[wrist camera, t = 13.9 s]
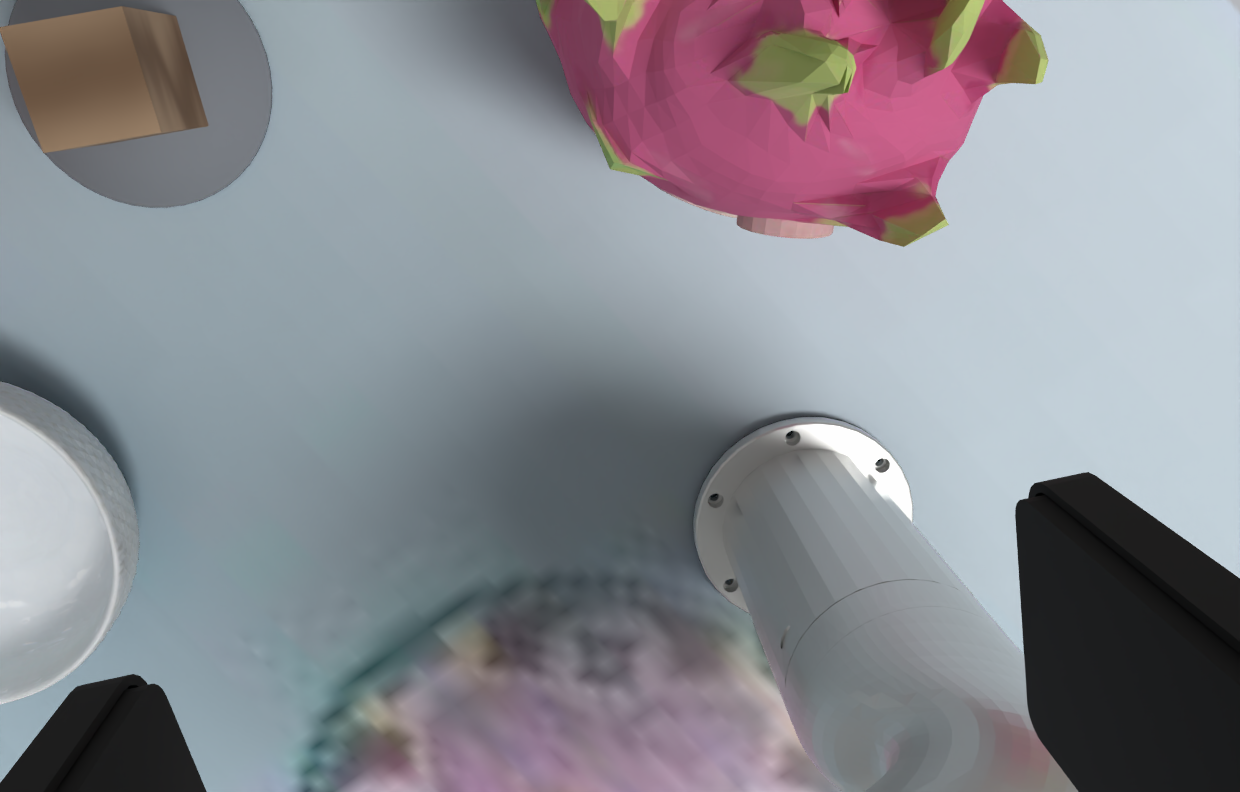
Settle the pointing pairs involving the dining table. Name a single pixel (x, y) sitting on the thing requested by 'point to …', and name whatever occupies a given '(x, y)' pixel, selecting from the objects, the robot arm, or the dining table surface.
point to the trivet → (183, 159)
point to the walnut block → (104, 77)
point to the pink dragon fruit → (791, 101)
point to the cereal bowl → (57, 543)
